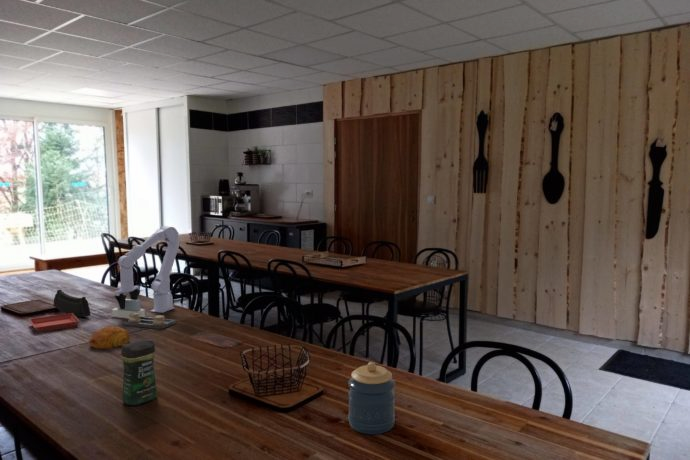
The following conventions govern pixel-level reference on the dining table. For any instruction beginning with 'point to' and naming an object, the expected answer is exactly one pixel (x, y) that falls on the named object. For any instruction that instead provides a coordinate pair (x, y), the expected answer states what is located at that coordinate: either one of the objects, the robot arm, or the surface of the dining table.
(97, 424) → the dining table surface
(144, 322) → the rack
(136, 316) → the birch offcut stack
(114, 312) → the holder
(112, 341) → the croissant
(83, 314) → the magazine
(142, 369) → the coffee jar
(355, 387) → the canister
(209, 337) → the wooden tablet
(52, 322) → the plant saucer
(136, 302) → the chamfered blue-grey beam
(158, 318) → the birch offcut
